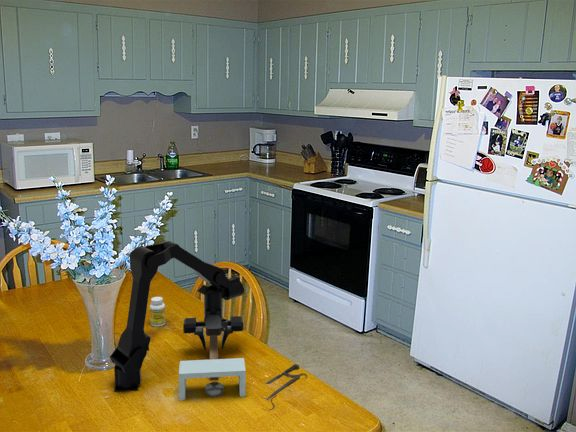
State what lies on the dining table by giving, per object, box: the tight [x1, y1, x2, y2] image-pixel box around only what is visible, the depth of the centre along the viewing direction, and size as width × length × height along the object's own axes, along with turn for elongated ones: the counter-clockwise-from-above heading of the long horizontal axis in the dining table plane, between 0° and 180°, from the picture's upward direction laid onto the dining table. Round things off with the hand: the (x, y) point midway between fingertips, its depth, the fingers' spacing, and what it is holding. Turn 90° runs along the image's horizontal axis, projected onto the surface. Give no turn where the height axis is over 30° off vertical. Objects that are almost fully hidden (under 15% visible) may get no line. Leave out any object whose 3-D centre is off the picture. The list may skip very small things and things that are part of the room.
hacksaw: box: [260, 363, 308, 411], centre depth 157 cm, size 24×10×2 cm, turn 140°
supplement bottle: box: [149, 296, 167, 328], centre depth 194 cm, size 5×5×10 cm
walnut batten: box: [209, 335, 219, 381], centre depth 169 cm, size 2×20×5 cm, turn 8°
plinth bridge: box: [178, 357, 246, 401], centre depth 153 cm, size 18×7×8 cm, turn 98°
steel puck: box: [204, 381, 224, 398], centre depth 153 cm, size 5×5×2 cm
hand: (213, 348), depth 176 cm, fingers open, 5 cm apart
